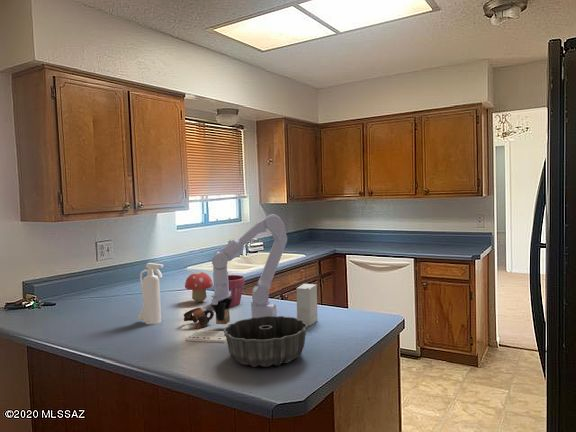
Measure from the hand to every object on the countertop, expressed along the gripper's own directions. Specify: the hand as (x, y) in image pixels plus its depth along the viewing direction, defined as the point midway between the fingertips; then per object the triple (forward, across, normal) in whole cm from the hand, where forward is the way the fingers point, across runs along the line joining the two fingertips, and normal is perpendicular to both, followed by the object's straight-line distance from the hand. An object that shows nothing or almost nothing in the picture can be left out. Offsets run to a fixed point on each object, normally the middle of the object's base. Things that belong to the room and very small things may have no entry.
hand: (222, 318), depth 173 cm
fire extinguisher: (+4, -5, -34) cm, 35 cm away
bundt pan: (+4, +27, +26) cm, 38 cm away
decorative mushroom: (+4, -40, -29) cm, 50 cm away
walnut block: (+2, 0, 0) cm, 2 cm away
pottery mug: (+4, -3, -12) cm, 13 cm away
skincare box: (+4, -12, +31) cm, 33 cm away
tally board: (+4, +10, -1) cm, 11 cm away
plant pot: (+4, -38, -12) cm, 40 cm away
